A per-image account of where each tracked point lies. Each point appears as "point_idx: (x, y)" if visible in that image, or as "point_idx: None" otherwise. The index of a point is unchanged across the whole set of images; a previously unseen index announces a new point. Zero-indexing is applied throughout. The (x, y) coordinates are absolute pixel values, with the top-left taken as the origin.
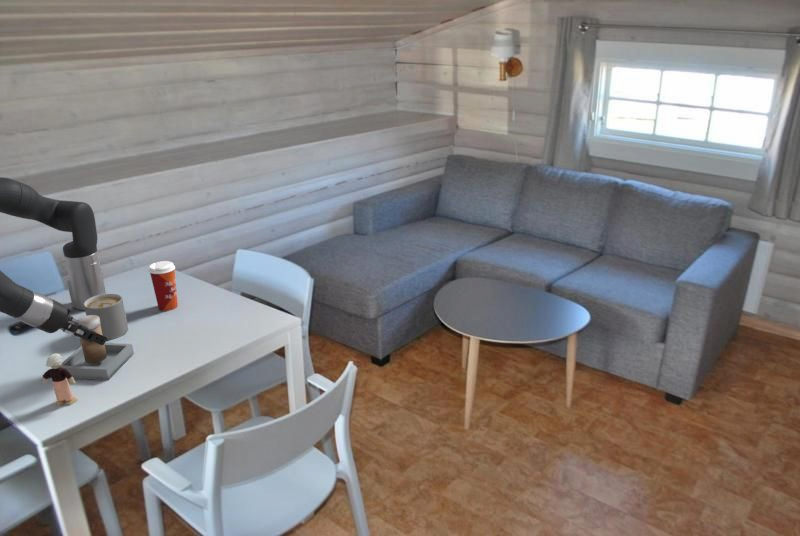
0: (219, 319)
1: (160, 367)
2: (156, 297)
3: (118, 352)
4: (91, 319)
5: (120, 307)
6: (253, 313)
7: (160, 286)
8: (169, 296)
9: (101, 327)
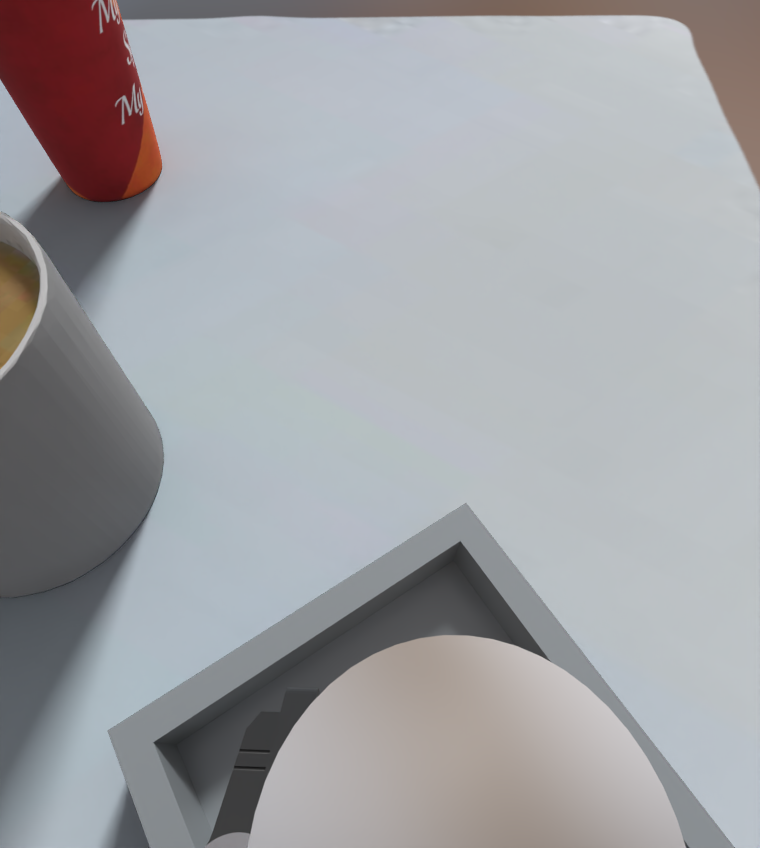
0: (447, 126)
1: (754, 522)
2: (59, 136)
3: (393, 600)
4: (508, 802)
5: (72, 296)
6: (509, 51)
7: (74, 42)
8: (134, 100)
9: (55, 520)
